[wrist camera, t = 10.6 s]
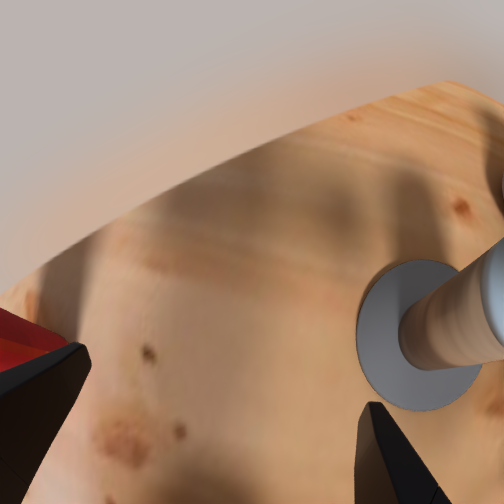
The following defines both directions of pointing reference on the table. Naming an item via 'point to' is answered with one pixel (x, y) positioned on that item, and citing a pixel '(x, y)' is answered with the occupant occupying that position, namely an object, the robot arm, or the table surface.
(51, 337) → the paper cup
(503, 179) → the coffee pot
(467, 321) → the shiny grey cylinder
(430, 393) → the felt mat
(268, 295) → the table surface
